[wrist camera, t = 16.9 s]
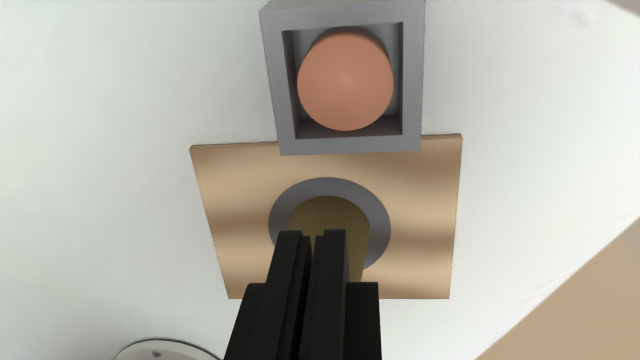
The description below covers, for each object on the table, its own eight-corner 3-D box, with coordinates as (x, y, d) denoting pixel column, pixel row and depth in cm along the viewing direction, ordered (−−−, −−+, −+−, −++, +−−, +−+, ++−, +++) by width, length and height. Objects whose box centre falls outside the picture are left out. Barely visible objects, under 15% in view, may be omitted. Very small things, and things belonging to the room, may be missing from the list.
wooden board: (447, 293, 35) (449, 299, 35) (230, 293, 37) (228, 299, 37) (460, 134, 28) (462, 139, 28) (192, 145, 30) (188, 150, 30)
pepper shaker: (343, 181, 30) (334, 303, 21) (385, 243, 32) (393, 377, 23) (271, 216, 32) (233, 340, 23) (315, 271, 34) (297, 405, 25)
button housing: (413, 122, 28) (420, 150, 25) (290, 127, 29) (280, 155, 26) (416, -14, 24) (425, -2, 21) (272, -2, 25) (258, 11, 22)
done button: (390, 108, 26) (393, 128, 24) (308, 112, 27) (302, 132, 24) (390, 21, 24) (393, 34, 21) (299, 28, 24) (291, 41, 22)
